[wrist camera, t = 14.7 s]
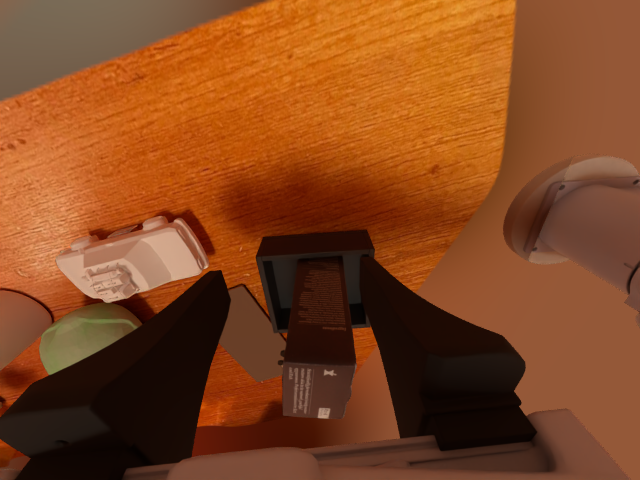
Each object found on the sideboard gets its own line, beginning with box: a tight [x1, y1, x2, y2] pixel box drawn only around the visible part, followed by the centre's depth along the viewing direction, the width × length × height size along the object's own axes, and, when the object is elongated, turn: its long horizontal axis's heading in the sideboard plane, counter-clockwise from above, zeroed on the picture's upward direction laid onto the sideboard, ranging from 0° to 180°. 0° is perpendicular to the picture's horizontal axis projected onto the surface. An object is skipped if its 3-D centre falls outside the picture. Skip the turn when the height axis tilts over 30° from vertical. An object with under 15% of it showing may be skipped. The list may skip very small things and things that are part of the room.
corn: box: [39, 303, 142, 375], centre depth 27 cm, size 8×8×20 cm
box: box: [282, 256, 357, 419], centre depth 20 cm, size 6×4×12 cm
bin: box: [256, 230, 375, 333], centre depth 24 cm, size 10×10×4 cm
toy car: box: [55, 216, 210, 303], centre depth 20 cm, size 6×12×7 cm, turn 105°
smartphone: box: [219, 285, 286, 382], centre depth 30 cm, size 8×1×16 cm
